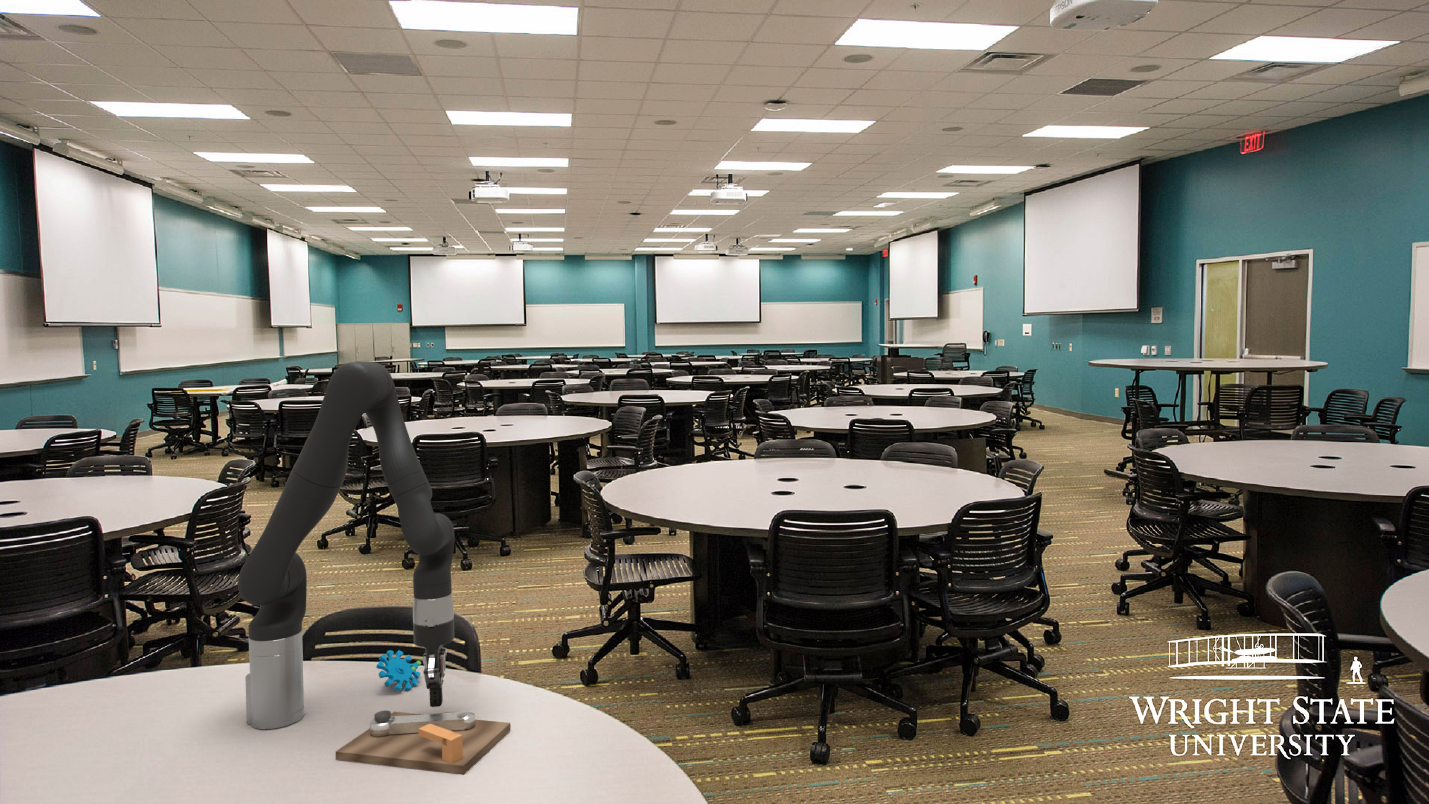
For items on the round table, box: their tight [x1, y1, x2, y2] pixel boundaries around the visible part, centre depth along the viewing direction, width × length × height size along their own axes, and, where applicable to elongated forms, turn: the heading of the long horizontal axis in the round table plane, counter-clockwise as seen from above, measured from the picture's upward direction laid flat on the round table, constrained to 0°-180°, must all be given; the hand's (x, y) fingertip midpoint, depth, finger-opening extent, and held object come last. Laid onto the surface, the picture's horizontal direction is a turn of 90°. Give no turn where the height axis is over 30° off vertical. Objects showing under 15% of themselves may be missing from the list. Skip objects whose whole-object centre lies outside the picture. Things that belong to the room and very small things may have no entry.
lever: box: [369, 711, 476, 736], centre depth 149 cm, size 19×4×2 cm, turn 97°
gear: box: [375, 649, 422, 692], centre depth 174 cm, size 11×6×10 cm
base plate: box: [335, 710, 512, 775], centre depth 146 cm, size 25×17×5 cm
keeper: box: [418, 724, 463, 764], centre depth 139 cm, size 9×2×4 cm, turn 57°
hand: (436, 705), depth 156 cm, fingers closed
